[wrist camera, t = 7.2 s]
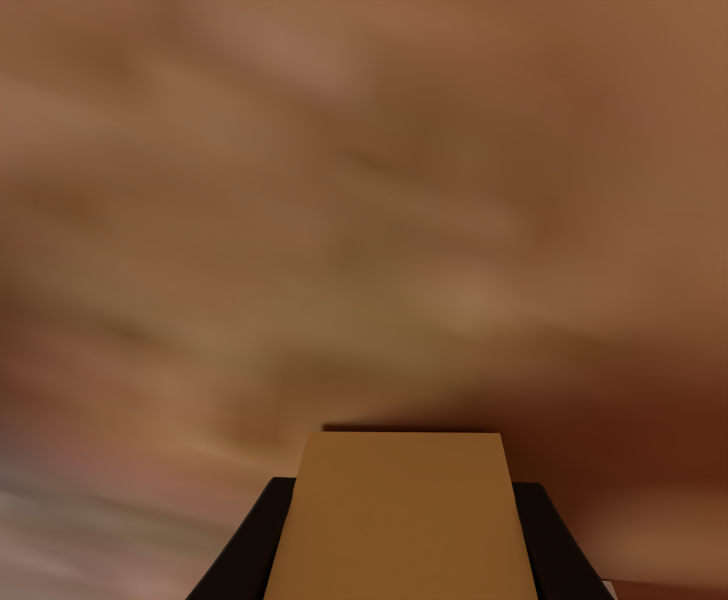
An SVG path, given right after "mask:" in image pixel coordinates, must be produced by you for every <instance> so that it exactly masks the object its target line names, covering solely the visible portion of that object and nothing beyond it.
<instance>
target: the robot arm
mask: <svg viewBox="0 0 728 600" xmlns="http://www.w3.org/2000/svg"><path fill="white" fill-rule="evenodd" d="M296 479H297V478H287V477H273V478H272V479H271V480H270V481H269V483H268V484H267V486H266V487H265V489H264V490H263V492H262V494H261V495H260V497H259V498H258V500H257V501H256V503H255V504H254V506H253V507H252V509H251V510H250V512H249V513H248V515H247V516H246V518H245V519H244V521H243V522H242V524H241V525H240V527H239V528H238V530H237V531H236V532H235V534H234V535H233V537H232V538H231V540H230V541H229V542H228V544H227V545H226V546H225V548H224V549H223V551H222V552H221V553H220V555H219V556H218V557H217V559H216V560H215V562H214V563H213V564H212V566H211V567H210V568H209V570H208V571H207V572H206V574H205V575H204V576H203V578H202V579H201V580H200V581H199V583H198V584H197V585H196V587H195V588H194V589H193V590H192V592H191V593H190V594H189V595H188V597H187V598H186V599H185V600H263V599H264V595H265V592H266V588H267V584H268V581H269V577H270V573H271V570H272V566H273V563H274V559H275V555H276V552H277V548H278V544H279V541H280V537H281V533H282V530H283V526H284V522H285V520H286V517H287V514H288V511H289V508H290V504H291V500H292V497H293V490H294V486H295V482H296ZM511 483H512V488H513V492H514V496H515V503H516V508H517V512H518V516H519V520H520V523H521V527H522V531H523V536H524V540H525V545H526V549H527V553H528V558H529V562H530V566H531V571H532V575H533V580H534V584H535V588H536V593H537V597H538V600H615V599H614V598H613V596H612V595H611V593H610V592H609V591H608V589H607V588H606V586H605V585H604V583H603V582H602V580H601V579H600V577H599V576H598V575H597V573H596V572H595V570H594V569H593V567H592V566H591V564H590V563H589V561H588V560H587V558H586V557H585V555H584V554H583V552H582V551H581V549H580V548H579V546H578V545H577V543H576V541H575V540H574V538H573V537H572V535H571V533H570V532H569V530H568V529H567V527H566V525H565V524H564V522H563V520H562V519H561V517H560V515H559V514H558V512H557V510H556V509H555V507H554V505H553V503H552V501H551V500H550V498H549V496H548V494H547V492H546V491H545V489H544V487H543V486H542V485H541V484H540V483H524V482H511Z"/></svg>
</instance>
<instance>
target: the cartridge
mask: <svg viewBox="0 0 728 600" xmlns="http://www.w3.org/2000/svg"><path fill="white" fill-rule="evenodd" d="M263 600H538V597H537V593H536V588H535V584H534V580H533V575H532V571H531V566H530V562H529V558H528V553H527V549H526V545H525V540H524V536H523V531H522V527H521V523H520V520H519V516H518V512H517V508H516V503H515V496H514V492H513V488H512V483H511V479H510V475H509V470H508V466H507V462H506V457H505V453H504V448H503V444H502V440H501V435H500V433H425V432H309V435H308V439H307V442H306V446H305V450H304V453H303V457H302V460H301V464H300V468H299V471H298V475H297V479H296V482H295V486H294V490H293V497H292V500H291V504H290V508H289V511H288V514H287V517H286V520H285V522H284V526H283V530H282V533H281V537H280V541H279V544H278V548H277V552H276V555H275V559H274V563H273V566H272V570H271V573H270V577H269V581H268V584H267V588H266V592H265V595H264V599H263Z"/></svg>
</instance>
